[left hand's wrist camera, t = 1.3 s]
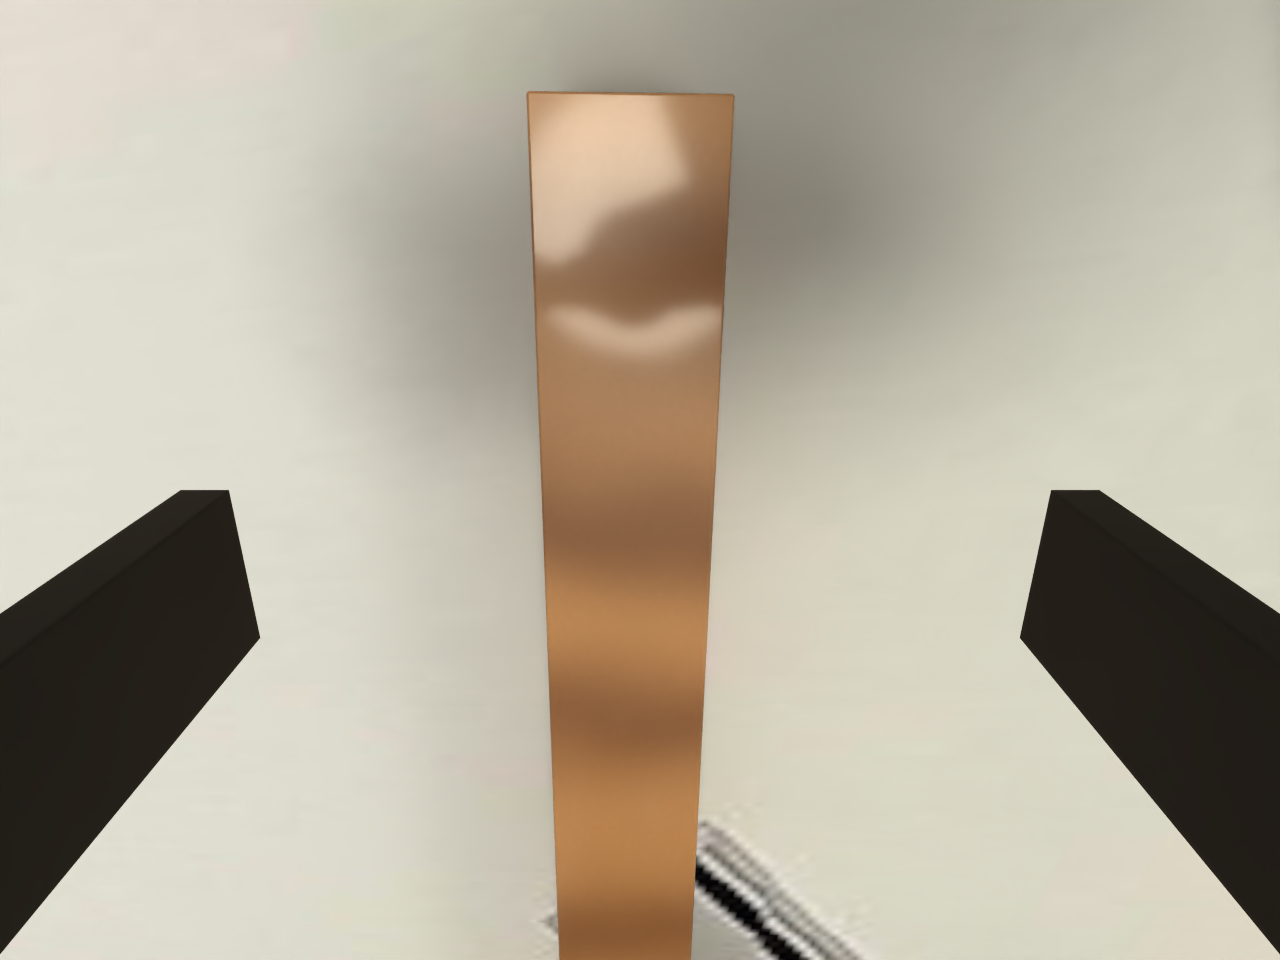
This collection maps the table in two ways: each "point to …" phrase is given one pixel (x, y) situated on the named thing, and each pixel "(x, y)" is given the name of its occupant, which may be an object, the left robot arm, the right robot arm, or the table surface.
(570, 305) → the wooden beam
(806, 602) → the table surface
